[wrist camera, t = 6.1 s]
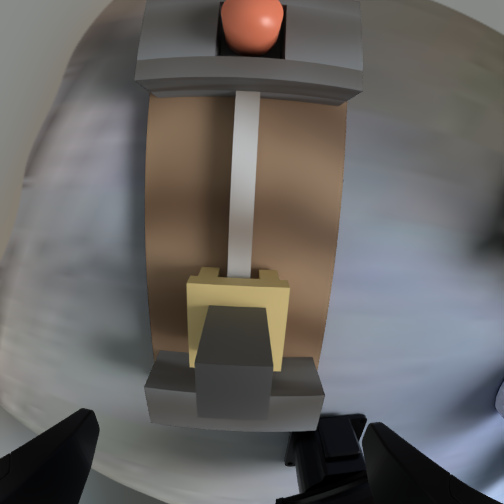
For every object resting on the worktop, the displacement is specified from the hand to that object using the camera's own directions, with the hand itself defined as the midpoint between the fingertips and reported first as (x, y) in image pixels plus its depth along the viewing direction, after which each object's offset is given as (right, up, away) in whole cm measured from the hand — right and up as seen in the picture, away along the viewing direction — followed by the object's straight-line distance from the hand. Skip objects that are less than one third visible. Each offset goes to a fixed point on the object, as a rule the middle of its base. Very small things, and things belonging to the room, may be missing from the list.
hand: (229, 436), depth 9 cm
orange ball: (+1, +16, +3) cm, 16 cm away
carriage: (0, +2, +10) cm, 10 cm away
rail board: (0, +7, +10) cm, 13 cm away
